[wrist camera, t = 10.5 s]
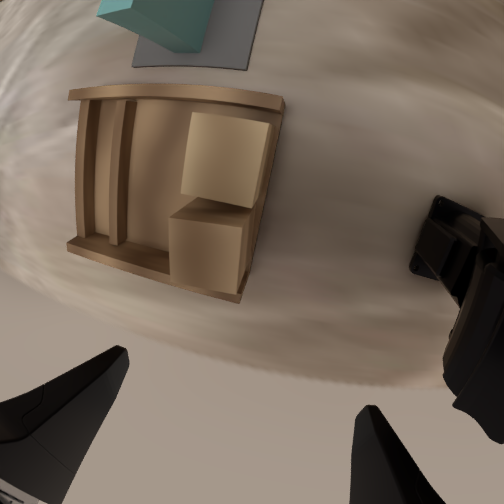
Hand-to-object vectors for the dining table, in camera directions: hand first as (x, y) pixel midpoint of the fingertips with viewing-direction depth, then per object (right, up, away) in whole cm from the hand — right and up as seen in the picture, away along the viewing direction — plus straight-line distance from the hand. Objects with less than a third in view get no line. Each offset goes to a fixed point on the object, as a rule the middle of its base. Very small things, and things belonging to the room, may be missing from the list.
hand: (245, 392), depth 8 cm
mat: (-3, +23, +4) cm, 24 cm away
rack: (-6, +10, +11) cm, 16 cm away
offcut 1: (-1, +11, +8) cm, 14 cm away
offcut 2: (-2, +7, +11) cm, 13 cm away
